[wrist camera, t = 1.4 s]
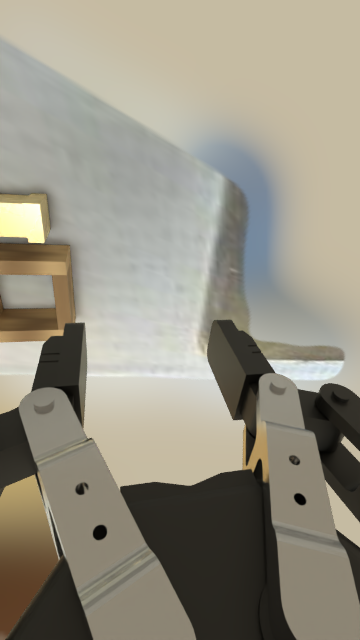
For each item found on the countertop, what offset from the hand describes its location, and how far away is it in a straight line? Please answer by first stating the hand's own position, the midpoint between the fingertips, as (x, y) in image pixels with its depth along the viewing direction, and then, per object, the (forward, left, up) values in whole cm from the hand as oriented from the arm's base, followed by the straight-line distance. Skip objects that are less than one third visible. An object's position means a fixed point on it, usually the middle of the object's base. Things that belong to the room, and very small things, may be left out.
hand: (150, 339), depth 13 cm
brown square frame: (-9, -7, -19) cm, 23 cm away
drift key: (-10, 0, -19) cm, 22 cm away
